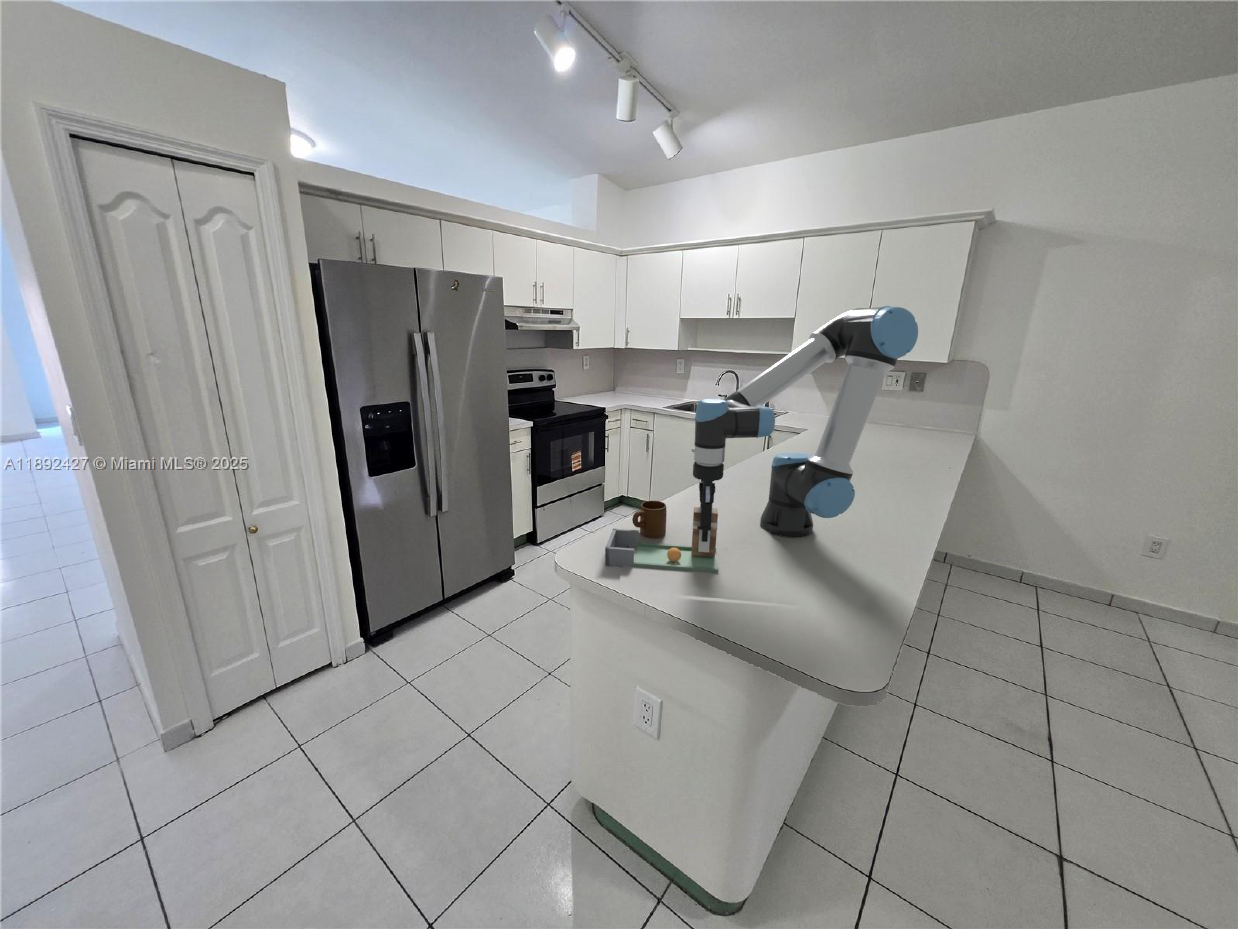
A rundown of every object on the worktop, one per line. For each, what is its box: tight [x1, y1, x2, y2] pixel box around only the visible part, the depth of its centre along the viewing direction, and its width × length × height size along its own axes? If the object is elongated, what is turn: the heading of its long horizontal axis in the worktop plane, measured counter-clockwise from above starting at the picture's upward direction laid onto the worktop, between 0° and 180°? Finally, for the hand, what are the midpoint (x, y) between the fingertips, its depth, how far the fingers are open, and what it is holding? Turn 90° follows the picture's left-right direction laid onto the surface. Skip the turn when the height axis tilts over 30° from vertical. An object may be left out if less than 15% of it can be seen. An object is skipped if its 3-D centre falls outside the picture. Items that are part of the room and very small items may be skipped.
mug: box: [631, 500, 668, 539], centre depth 133 cm, size 12×8×9 cm, turn 133°
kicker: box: [691, 506, 719, 557], centre depth 120 cm, size 6×4×12 cm, turn 81°
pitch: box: [604, 528, 719, 574], centre depth 121 cm, size 28×12×5 cm, turn 81°
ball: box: [667, 548, 681, 562], centre depth 119 cm, size 4×4×4 cm
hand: (703, 547), depth 122 cm, fingers closed on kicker, 4 cm apart
